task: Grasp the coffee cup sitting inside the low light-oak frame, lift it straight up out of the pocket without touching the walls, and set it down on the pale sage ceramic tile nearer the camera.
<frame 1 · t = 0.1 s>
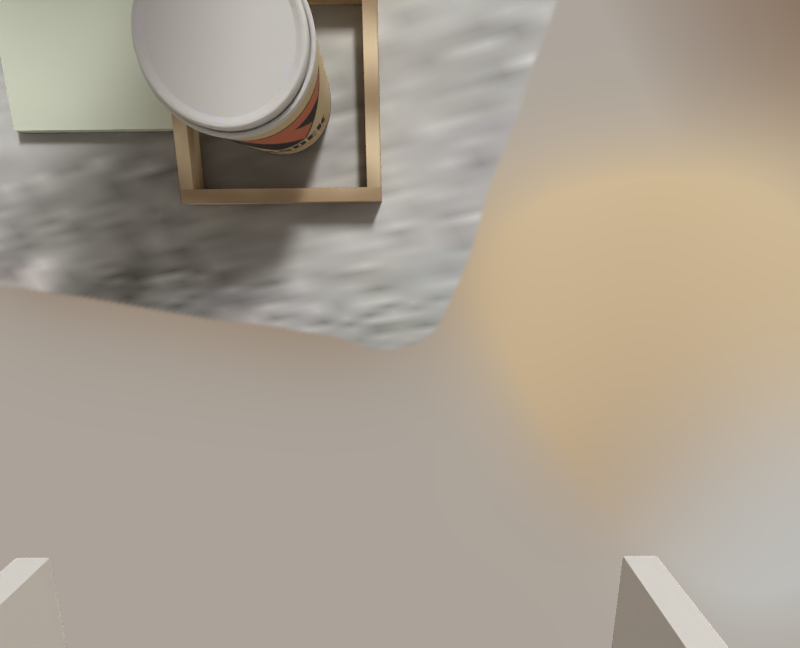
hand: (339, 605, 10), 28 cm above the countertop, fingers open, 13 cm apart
oak frame: (281, 101, 34), on the countertop
sage tile: (88, 45, 33), on the countertop
coffee cup: (281, 102, 34), resting in oak frame
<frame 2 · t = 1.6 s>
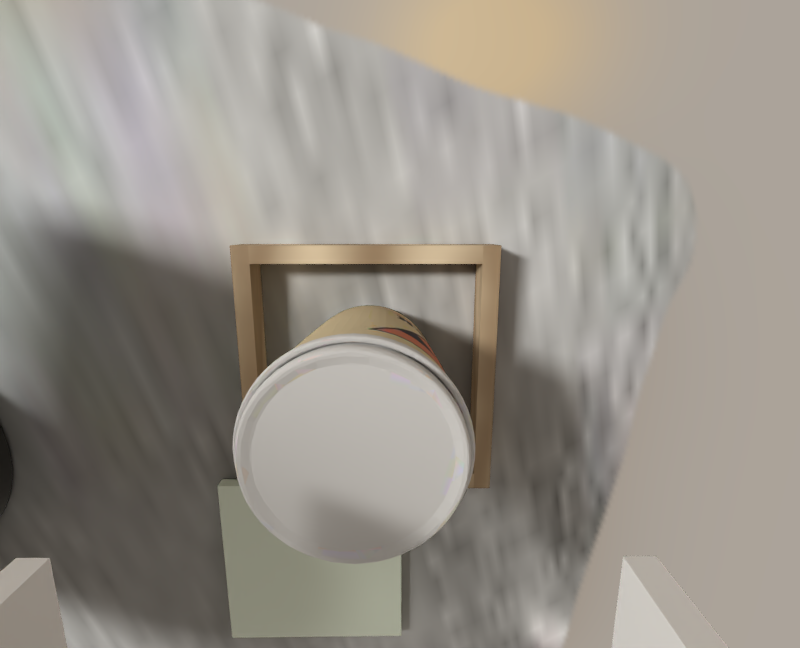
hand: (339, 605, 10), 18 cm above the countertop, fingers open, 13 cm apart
oak frame: (369, 364, 28), on the countertop
sage tile: (315, 555, 31), on the countertop
coffee cup: (370, 363, 28), resting in oak frame
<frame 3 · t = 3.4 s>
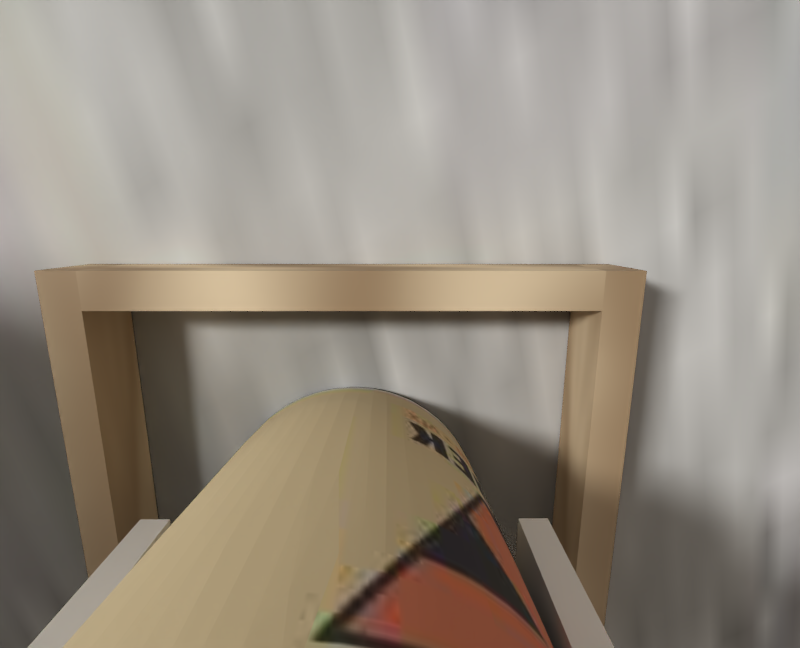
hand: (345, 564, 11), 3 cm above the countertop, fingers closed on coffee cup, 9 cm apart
oak frame: (355, 495, 14), on the countertop
coffee cup: (356, 492, 15), resting in oak frame, touching gripper
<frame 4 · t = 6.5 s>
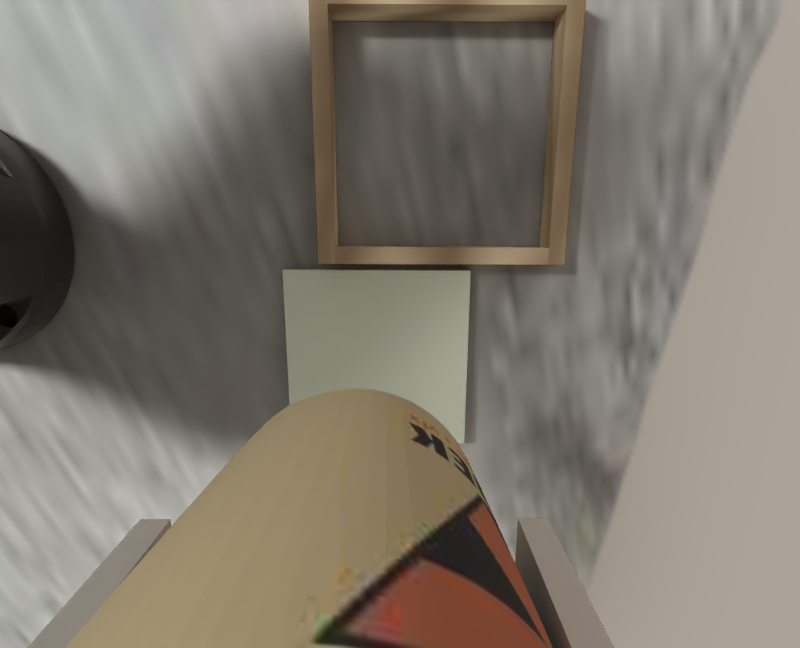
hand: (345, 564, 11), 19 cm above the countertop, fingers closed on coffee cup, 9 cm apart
oak frame: (441, 139, 27), on the countertop
sage tile: (377, 357, 30), on the countertop
coffee cup: (356, 493, 15), point 16 cm above the countertop, touching gripper
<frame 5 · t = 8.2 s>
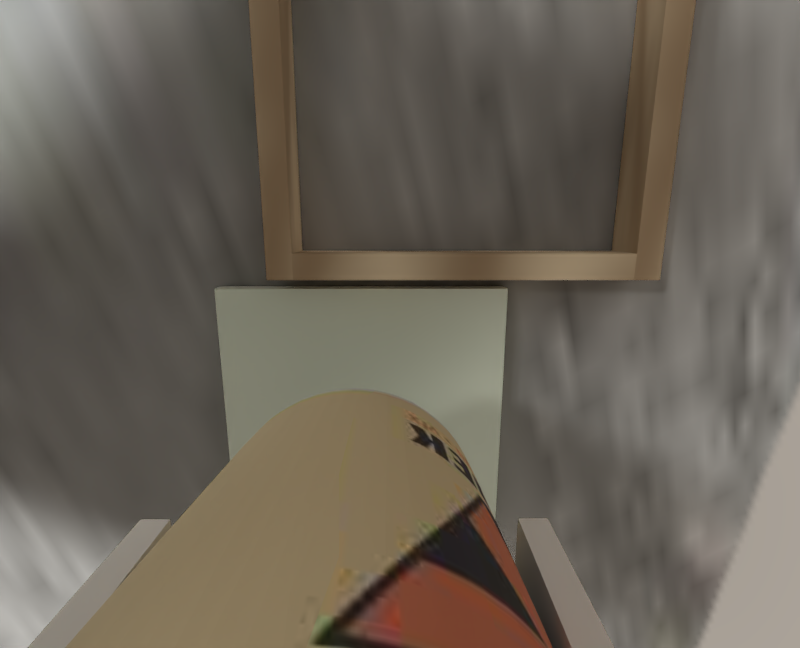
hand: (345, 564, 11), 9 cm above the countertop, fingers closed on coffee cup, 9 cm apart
oak frame: (462, 81, 17), on the countertop
sage tile: (365, 417, 20), on the countertop
coffee cup: (356, 494, 15), point 6 cm above the countertop, touching gripper
when the fingers open (5 cm above the countertop, at t = 9.5 s): coffee cup drops 1 cm, resting on sage tile.
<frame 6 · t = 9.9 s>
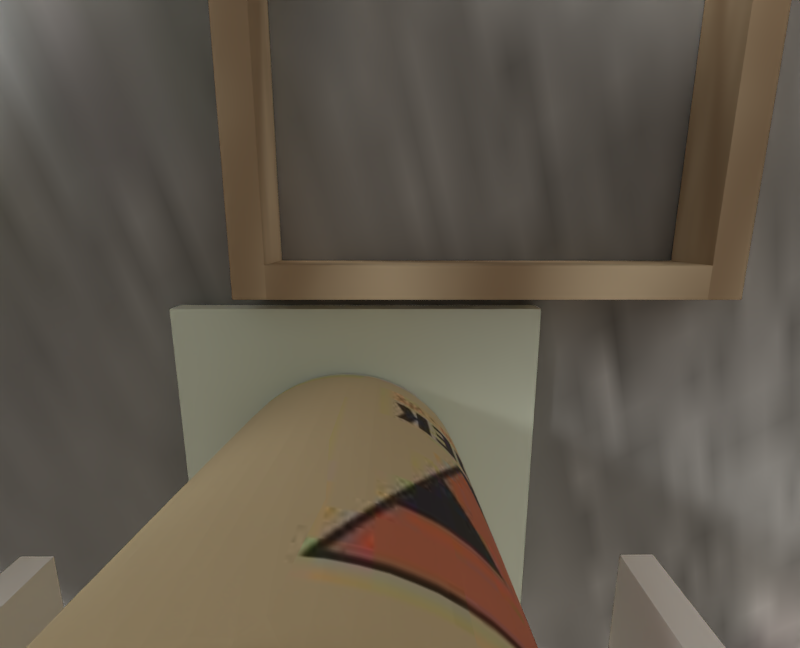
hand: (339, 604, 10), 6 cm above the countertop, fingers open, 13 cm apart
oak frame: (485, 43, 13), on the countertop
sage tile: (361, 465, 16), on the countertop
coffee cup: (349, 472, 16), point 1 cm above the countertop, touching sage tile
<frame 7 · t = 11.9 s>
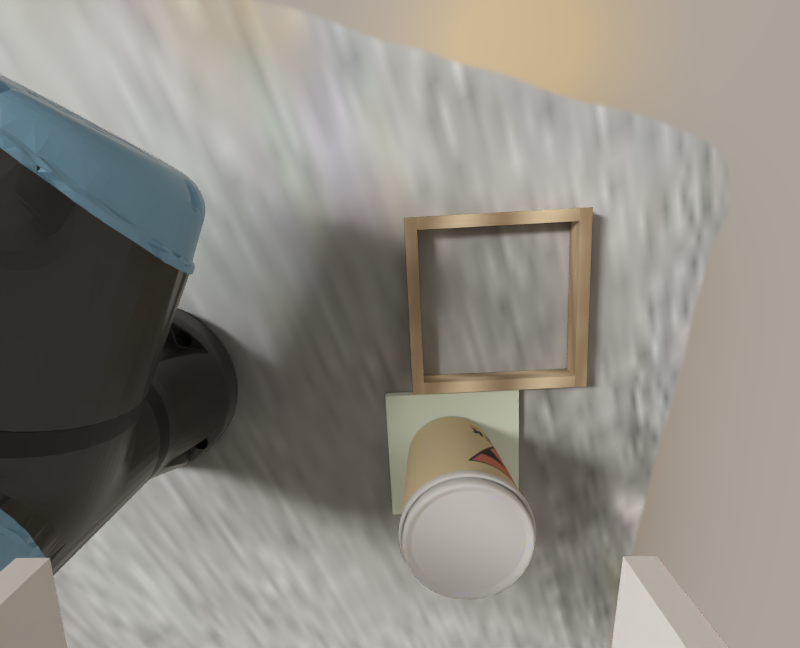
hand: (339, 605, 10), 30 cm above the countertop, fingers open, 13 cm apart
oak frame: (493, 301, 39), on the countertop
sage tile: (452, 450, 42), on the countertop
coffee cup: (449, 452, 41), point 1 cm above the countertop, touching sage tile
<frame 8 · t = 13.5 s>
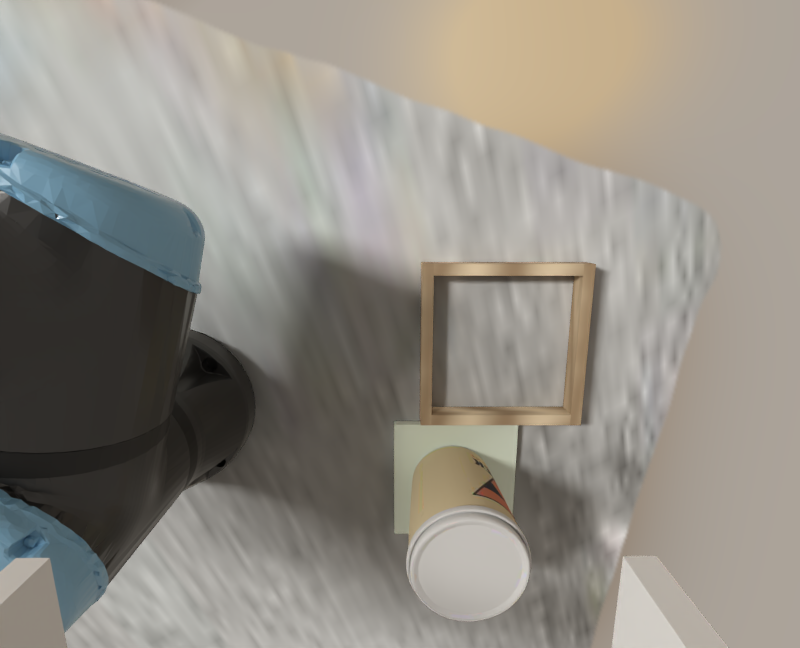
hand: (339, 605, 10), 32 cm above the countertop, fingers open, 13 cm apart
oak frame: (499, 342, 42), on the countertop
sage tile: (453, 476, 45), on the countertop
coffee cup: (450, 479, 44), point 1 cm above the countertop, touching sage tile
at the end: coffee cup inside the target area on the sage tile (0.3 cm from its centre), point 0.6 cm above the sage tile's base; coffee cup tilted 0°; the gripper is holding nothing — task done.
